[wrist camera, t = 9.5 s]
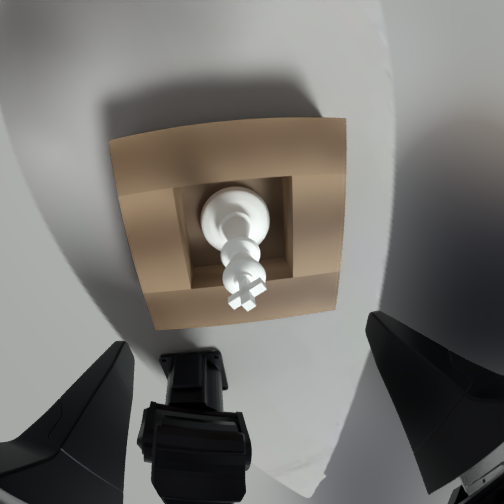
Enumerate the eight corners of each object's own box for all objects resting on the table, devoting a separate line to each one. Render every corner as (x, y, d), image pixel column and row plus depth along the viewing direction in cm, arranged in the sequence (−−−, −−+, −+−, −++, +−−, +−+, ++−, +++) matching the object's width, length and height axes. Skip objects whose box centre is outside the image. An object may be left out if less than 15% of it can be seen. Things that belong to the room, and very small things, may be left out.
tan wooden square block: (320, 282, 25) (335, 309, 21) (163, 300, 24) (155, 330, 20) (323, 117, 18) (345, 118, 15) (128, 136, 17) (108, 140, 14)
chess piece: (186, 213, 19) (161, 296, 11) (243, 172, 19) (266, 224, 10) (227, 262, 22) (236, 362, 13) (281, 226, 21) (327, 310, 12)
